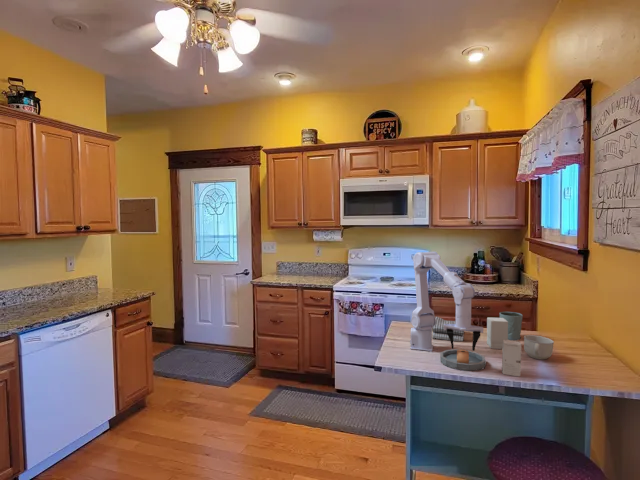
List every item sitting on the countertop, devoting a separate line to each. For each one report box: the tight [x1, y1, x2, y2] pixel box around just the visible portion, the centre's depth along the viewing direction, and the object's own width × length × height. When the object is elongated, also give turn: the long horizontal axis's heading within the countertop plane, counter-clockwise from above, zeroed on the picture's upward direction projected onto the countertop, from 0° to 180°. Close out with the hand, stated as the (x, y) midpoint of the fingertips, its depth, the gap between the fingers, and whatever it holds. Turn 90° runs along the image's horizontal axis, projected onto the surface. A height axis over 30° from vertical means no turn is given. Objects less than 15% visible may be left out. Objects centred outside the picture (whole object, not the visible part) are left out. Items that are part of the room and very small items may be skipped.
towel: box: [432, 316, 465, 342], centre depth 187 cm, size 15×18×8 cm
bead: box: [457, 349, 469, 364], centre depth 146 cm, size 4×4×5 cm
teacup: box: [523, 334, 555, 360], centre depth 155 cm, size 14×11×8 cm
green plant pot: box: [499, 311, 523, 341], centre depth 183 cm, size 10×10×12 cm
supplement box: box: [486, 317, 508, 350], centre depth 170 cm, size 7×7×13 cm
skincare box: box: [501, 340, 522, 377], centre depth 139 cm, size 6×4×12 cm
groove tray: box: [439, 348, 487, 372], centre depth 151 cm, size 17×17×2 cm
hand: (462, 349), depth 146 cm, fingers open, 7 cm apart
